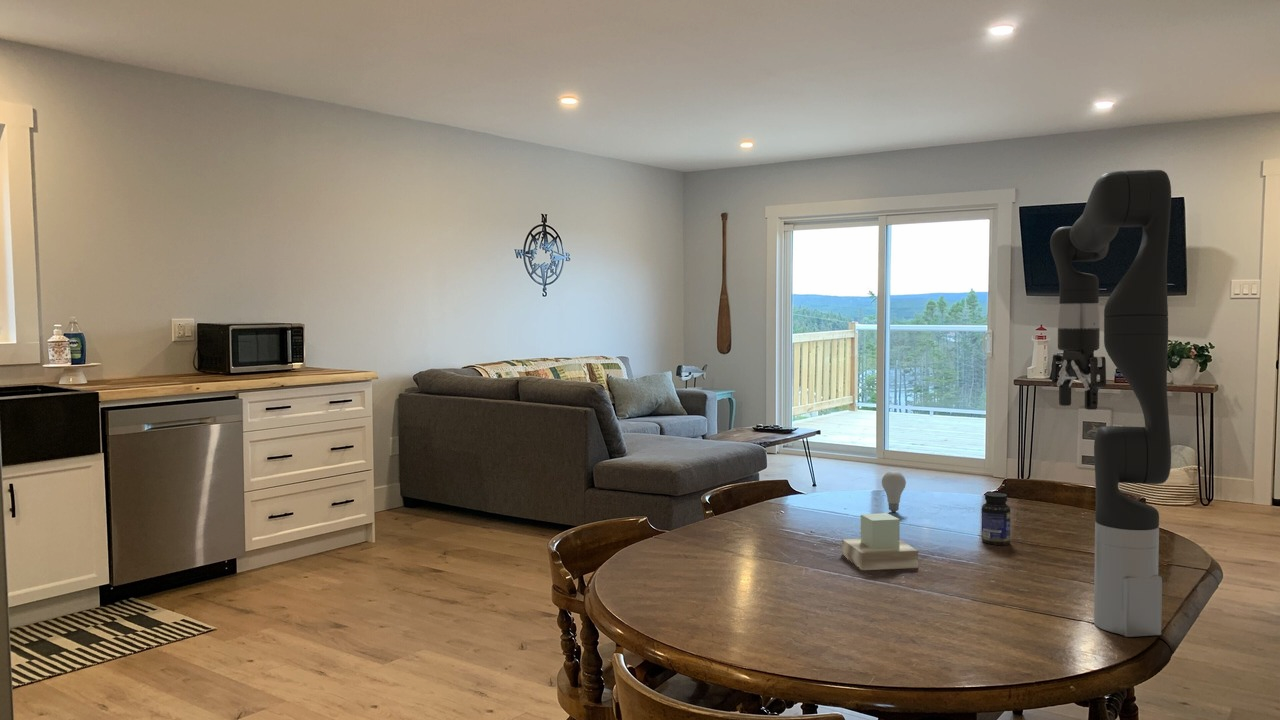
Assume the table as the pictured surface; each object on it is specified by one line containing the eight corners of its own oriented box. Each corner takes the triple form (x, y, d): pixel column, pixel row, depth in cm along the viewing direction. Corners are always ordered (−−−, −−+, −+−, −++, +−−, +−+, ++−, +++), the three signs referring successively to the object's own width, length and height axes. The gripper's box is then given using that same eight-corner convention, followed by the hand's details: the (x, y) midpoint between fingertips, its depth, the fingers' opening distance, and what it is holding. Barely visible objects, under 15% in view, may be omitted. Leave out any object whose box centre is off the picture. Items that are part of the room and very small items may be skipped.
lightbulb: (881, 514, 235) (881, 472, 234) (882, 509, 241) (882, 468, 240) (905, 515, 233) (905, 473, 233) (905, 510, 239) (905, 469, 238)
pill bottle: (1012, 546, 201) (1013, 497, 200) (983, 545, 202) (984, 496, 201) (1007, 539, 207) (1007, 492, 206) (979, 538, 208) (979, 491, 207)
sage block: (899, 547, 187) (899, 519, 186) (872, 549, 186) (872, 520, 186) (887, 540, 193) (887, 513, 192) (860, 542, 192) (860, 514, 191)
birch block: (918, 569, 184) (918, 550, 184) (862, 572, 183) (862, 553, 183) (894, 555, 196) (894, 536, 196) (841, 557, 195) (841, 539, 195)
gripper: (1119, 326, 172) (1118, 410, 173) (1074, 326, 186) (1073, 403, 187) (1082, 327, 171) (1081, 411, 172) (1040, 326, 185) (1039, 404, 186)
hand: (1077, 407), depth 180 cm, fingers open, 8 cm apart
